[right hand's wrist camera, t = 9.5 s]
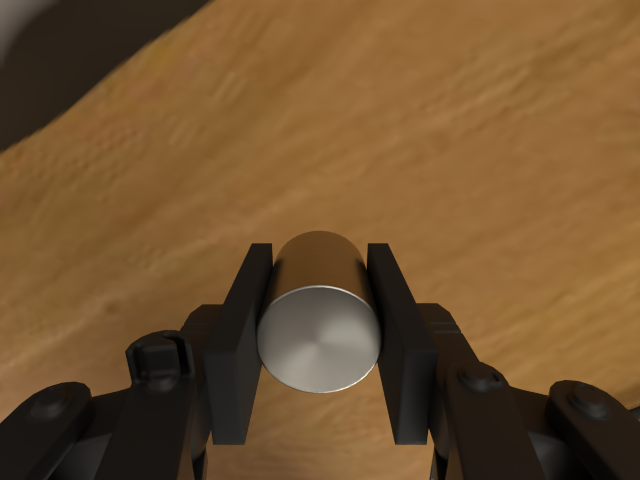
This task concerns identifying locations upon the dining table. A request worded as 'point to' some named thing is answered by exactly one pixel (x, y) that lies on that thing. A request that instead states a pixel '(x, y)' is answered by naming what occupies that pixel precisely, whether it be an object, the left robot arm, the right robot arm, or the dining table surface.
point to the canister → (319, 316)
